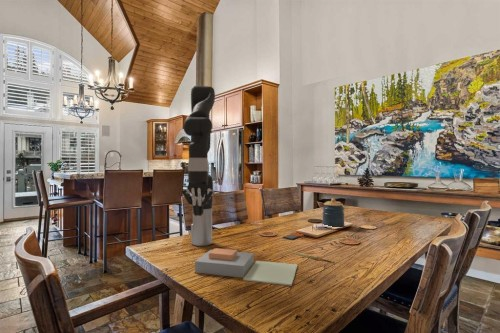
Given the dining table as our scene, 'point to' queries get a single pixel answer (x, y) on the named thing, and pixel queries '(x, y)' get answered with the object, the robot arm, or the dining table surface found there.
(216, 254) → the block
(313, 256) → the sword
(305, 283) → the dining table surface
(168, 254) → the dining table surface
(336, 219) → the lidded jar
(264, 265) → the mat
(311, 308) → the dining table surface
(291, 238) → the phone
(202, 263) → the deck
